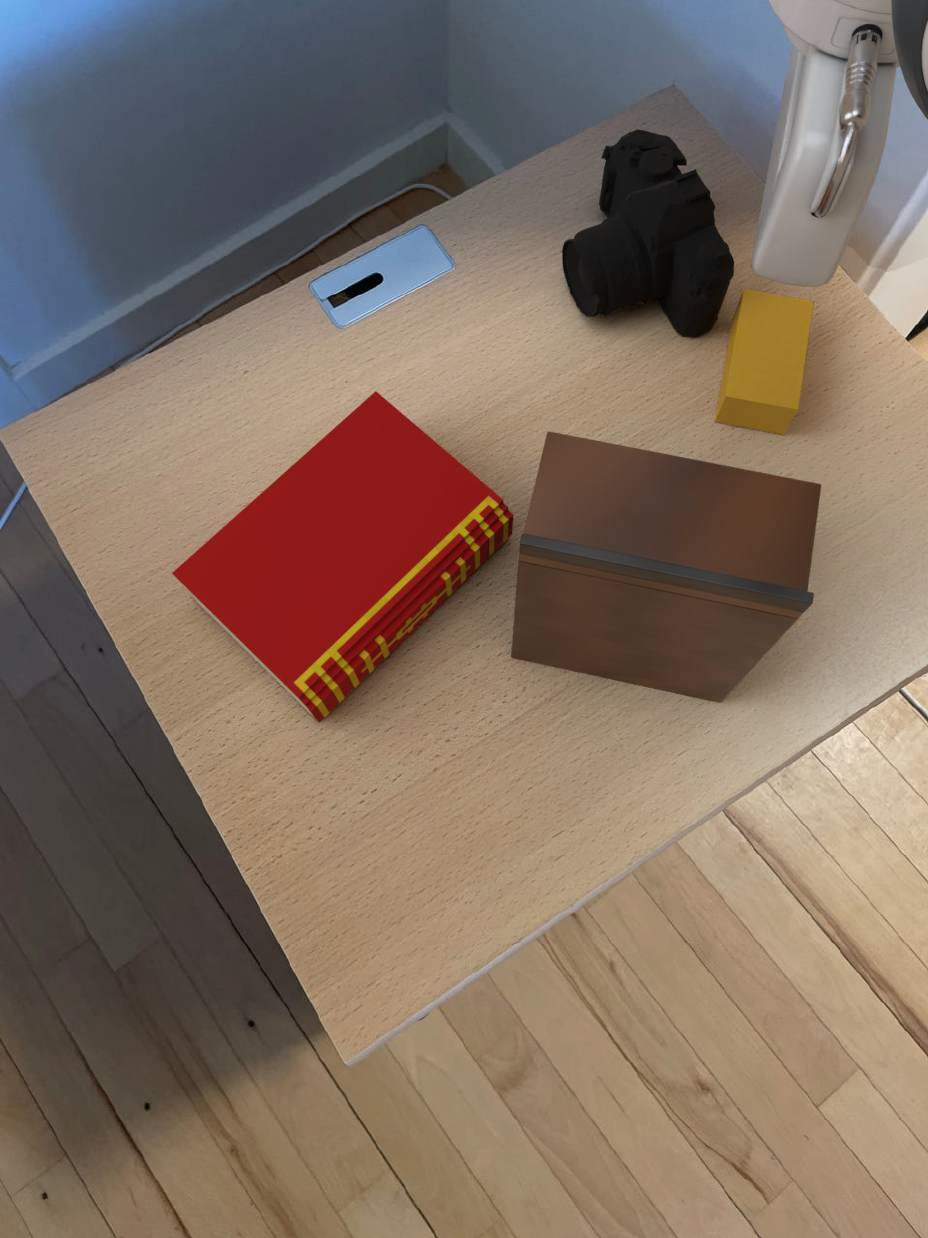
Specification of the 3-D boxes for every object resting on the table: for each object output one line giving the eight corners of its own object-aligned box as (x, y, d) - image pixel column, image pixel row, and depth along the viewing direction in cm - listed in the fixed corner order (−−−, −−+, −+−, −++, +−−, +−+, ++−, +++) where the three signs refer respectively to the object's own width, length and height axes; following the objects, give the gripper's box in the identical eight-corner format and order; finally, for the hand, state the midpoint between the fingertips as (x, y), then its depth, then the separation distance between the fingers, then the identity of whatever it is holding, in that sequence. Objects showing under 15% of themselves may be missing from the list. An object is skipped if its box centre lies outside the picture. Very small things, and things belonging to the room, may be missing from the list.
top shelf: (815, 492, 50) (830, 472, 48) (799, 619, 48) (813, 603, 46) (546, 439, 51) (548, 418, 49) (518, 561, 49) (519, 543, 47)
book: (321, 726, 64) (308, 707, 59) (194, 599, 67) (171, 573, 62) (511, 539, 68) (513, 508, 63) (383, 428, 71) (375, 390, 66)
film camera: (529, 226, 77) (534, 135, 68) (640, 184, 78) (659, 90, 69) (615, 380, 72) (632, 303, 64) (733, 333, 73) (765, 251, 65)
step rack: (748, 525, 68) (829, 392, 52) (720, 703, 64) (799, 619, 48) (550, 485, 69) (568, 343, 53) (510, 657, 65) (518, 561, 49)
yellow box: (799, 330, 73) (814, 300, 70) (783, 435, 70) (798, 409, 67) (732, 318, 74) (743, 288, 70) (714, 422, 71) (725, 396, 67)
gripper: (939, 160, 36) (819, 371, 49) (982, -209, 42) (866, 65, 56) (767, 130, 37) (694, 346, 50) (835, -228, 43) (754, 47, 56)
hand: (785, 196), depth 53 cm, fingers open, 8 cm apart
